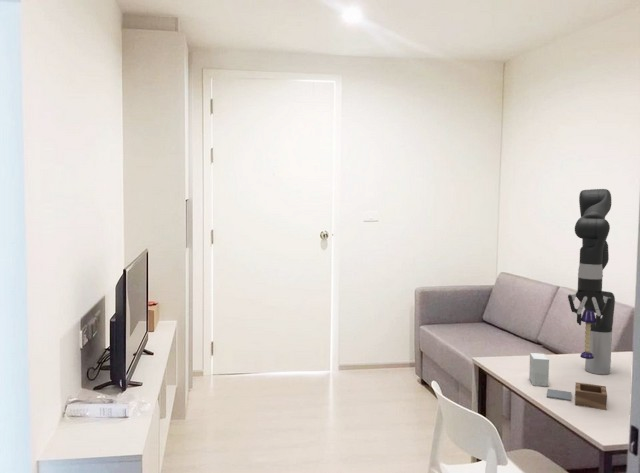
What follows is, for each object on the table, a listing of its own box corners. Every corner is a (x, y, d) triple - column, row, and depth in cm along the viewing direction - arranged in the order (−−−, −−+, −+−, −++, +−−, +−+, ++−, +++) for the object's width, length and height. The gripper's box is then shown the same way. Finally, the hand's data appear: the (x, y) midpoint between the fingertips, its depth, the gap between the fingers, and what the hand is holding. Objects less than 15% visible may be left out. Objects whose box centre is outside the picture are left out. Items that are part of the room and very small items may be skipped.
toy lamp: (576, 355, 191) (578, 308, 190) (589, 354, 191) (591, 308, 190) (584, 359, 186) (586, 311, 185) (597, 359, 187) (599, 311, 185)
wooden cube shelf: (575, 395, 195) (575, 382, 195) (605, 400, 191) (605, 386, 191) (574, 405, 187) (575, 390, 186) (606, 409, 183) (607, 395, 182)
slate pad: (547, 390, 201) (547, 388, 201) (571, 393, 197) (571, 392, 197) (546, 397, 194) (546, 395, 193) (571, 401, 190) (571, 399, 190)
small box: (548, 386, 204) (549, 359, 204) (532, 385, 205) (533, 358, 205) (544, 379, 212) (545, 353, 211) (528, 378, 213) (529, 352, 212)
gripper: (612, 276, 187) (610, 325, 188) (567, 273, 193) (565, 321, 194) (614, 279, 180) (612, 330, 182) (567, 276, 186) (565, 325, 188)
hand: (588, 325), depth 188 cm, fingers closed on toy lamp, 4 cm apart
